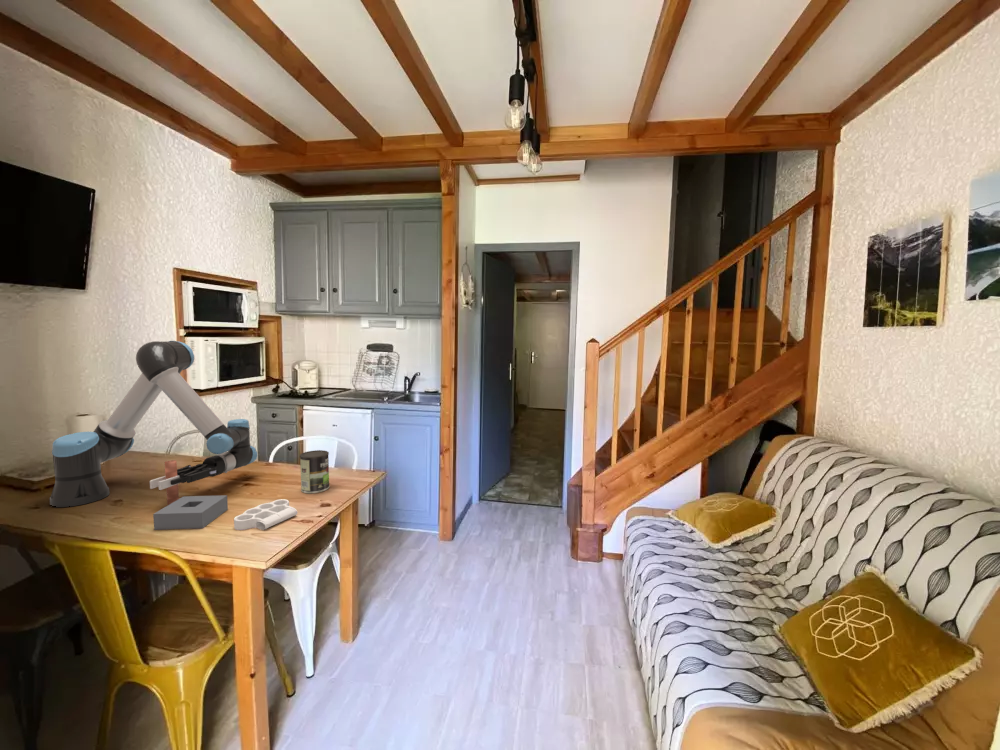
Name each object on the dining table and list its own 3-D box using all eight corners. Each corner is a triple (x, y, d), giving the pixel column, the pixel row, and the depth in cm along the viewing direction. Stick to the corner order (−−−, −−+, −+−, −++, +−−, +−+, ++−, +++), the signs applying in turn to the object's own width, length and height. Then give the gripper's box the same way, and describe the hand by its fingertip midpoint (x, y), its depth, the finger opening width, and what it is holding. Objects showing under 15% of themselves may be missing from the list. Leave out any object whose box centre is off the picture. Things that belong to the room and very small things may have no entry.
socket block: (154, 529, 127) (153, 514, 127) (184, 510, 141) (183, 496, 141) (202, 528, 128) (201, 512, 128) (227, 509, 142) (227, 495, 142)
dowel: (165, 508, 143) (162, 463, 141) (171, 504, 146) (168, 460, 144) (175, 508, 143) (172, 462, 141) (181, 504, 146) (178, 460, 145)
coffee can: (333, 484, 167) (333, 450, 166) (322, 493, 157) (321, 457, 156) (308, 483, 168) (307, 449, 166) (295, 493, 157) (294, 457, 156)
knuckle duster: (256, 536, 124) (224, 527, 130) (305, 513, 141) (275, 505, 147) (255, 525, 124) (223, 516, 130) (305, 503, 141) (274, 496, 146)
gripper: (236, 475, 159) (174, 498, 137) (202, 472, 163) (137, 493, 141) (235, 456, 158) (173, 476, 136) (201, 453, 162) (136, 472, 140)
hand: (155, 485), depth 138 cm, fingers closed on dowel, 3 cm apart
